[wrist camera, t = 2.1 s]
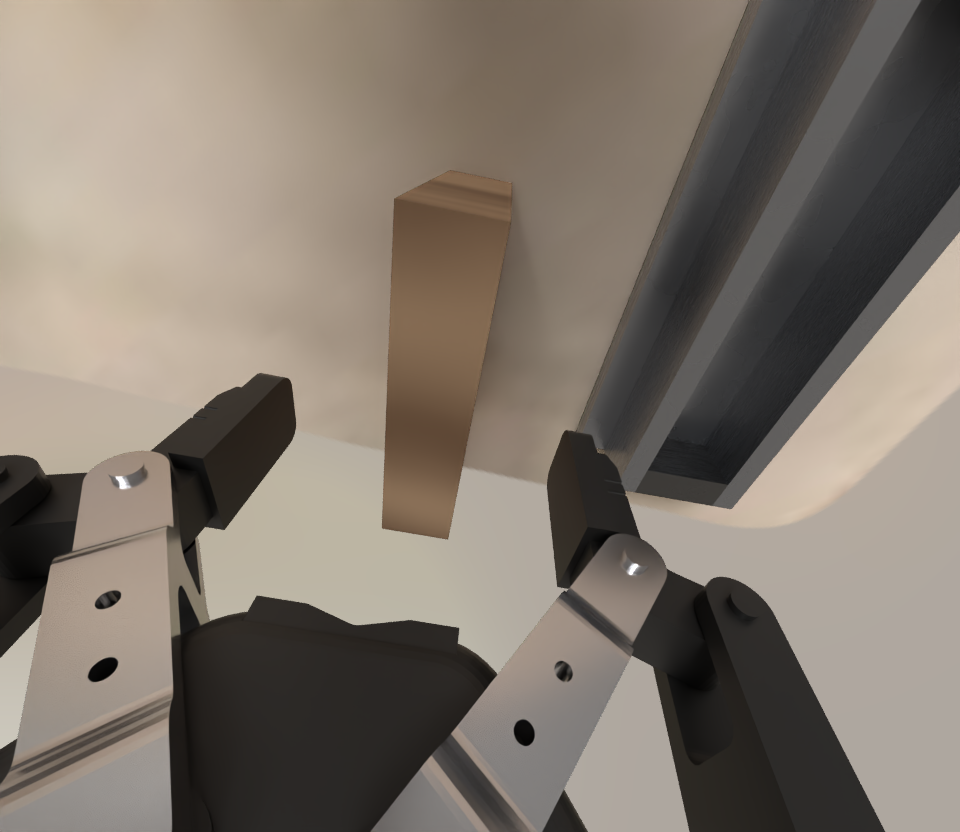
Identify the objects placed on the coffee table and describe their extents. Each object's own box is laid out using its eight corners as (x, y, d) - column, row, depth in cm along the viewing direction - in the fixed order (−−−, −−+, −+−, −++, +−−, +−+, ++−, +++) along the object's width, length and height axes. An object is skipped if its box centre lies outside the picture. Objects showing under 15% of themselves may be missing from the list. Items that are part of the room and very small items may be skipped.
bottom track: (797, -120, 11) (918, -229, 8) (1093, -46, 11) (1329, -122, 8) (575, 433, 22) (585, 483, 19) (724, 460, 23) (759, 514, 20)
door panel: (450, 170, 16) (394, 198, 8) (512, 182, 16) (511, 222, 8) (425, 398, 22) (381, 528, 15) (469, 406, 22) (448, 539, 15)
